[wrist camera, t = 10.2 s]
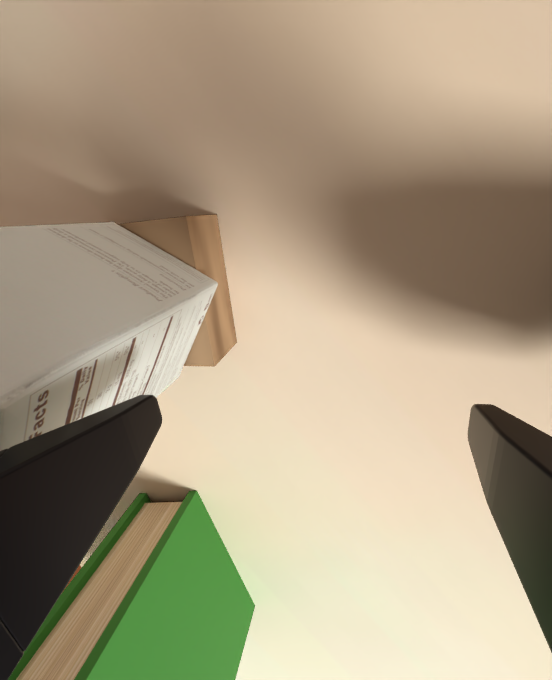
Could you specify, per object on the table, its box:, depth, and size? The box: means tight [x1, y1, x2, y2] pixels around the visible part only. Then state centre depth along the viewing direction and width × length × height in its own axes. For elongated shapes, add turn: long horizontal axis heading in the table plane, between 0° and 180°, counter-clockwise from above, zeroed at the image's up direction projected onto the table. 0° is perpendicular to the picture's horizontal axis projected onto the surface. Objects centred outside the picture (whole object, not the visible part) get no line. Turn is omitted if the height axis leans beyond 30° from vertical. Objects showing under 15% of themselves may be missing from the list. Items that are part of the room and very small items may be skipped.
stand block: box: [118, 214, 237, 366], centre depth 21 cm, size 9×9×4 cm
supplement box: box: [0, 222, 218, 451], centre depth 14 cm, size 7×7×13 cm
